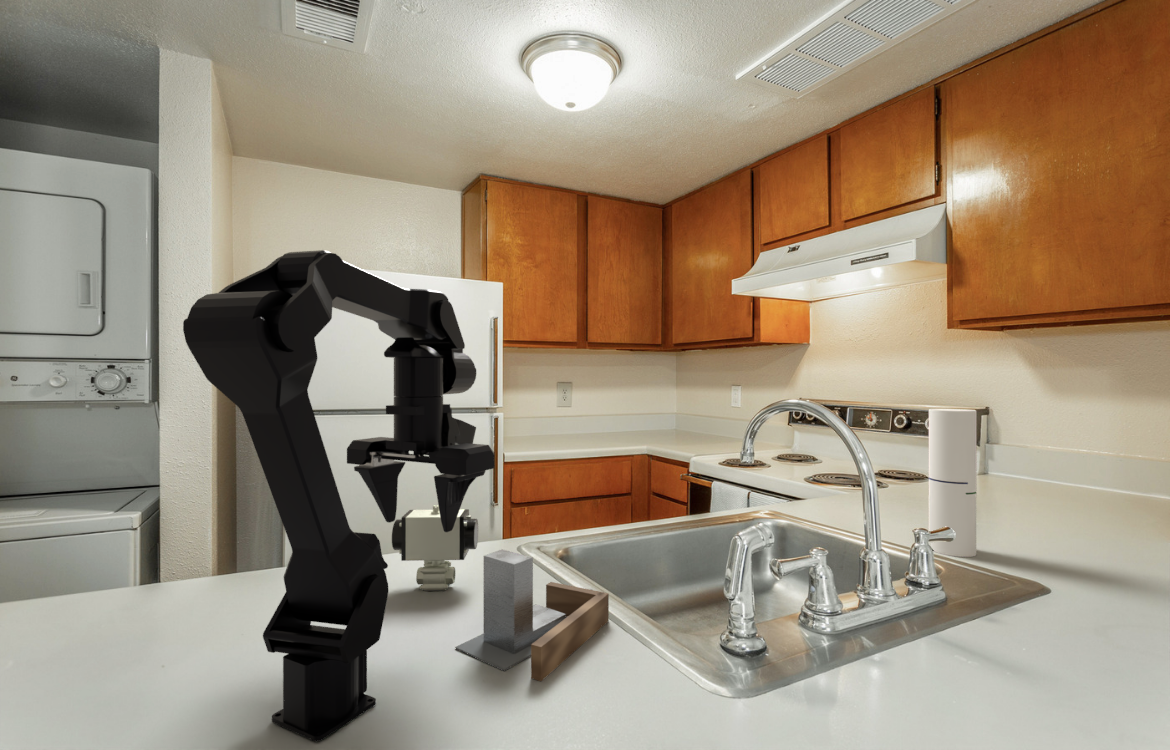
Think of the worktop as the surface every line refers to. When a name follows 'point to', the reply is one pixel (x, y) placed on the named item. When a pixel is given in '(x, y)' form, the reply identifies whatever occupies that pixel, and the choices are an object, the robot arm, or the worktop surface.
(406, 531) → the pneumatic valve
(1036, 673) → the worktop surface
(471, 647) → the mat
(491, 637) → the bracket
